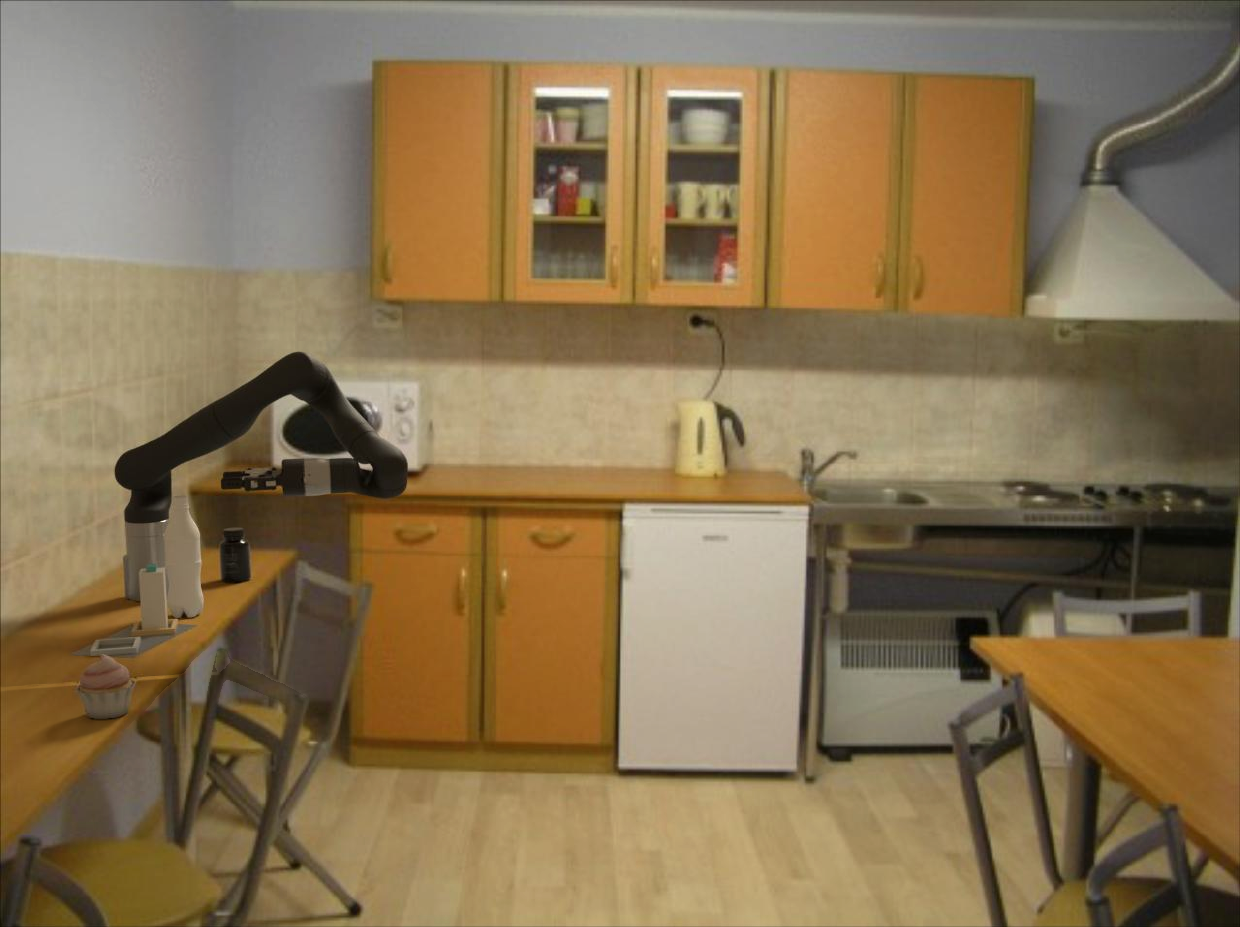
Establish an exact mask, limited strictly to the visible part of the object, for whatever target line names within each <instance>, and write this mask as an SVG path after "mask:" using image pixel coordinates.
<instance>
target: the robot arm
mask: <svg viewBox="0 0 1240 927" xmlns="http://www.w3.org/2000/svg"><path fill="white" fill-rule="evenodd" d="M289 395H291V396H292V397H294V398H296V399H297V400H300V401H303V402H305V403H306V404H308V405H309V406H310V407H312V408H313V409H314V410H315V411H316V412H318V413H319V414H320V415H321V416H322V417H323V418H324V419H325V420H326V422H327V423H328V424H329V426H330V429H331V430H332V432H333V435H334V436H335V438H336V439H337V441H338V442H339V444H341V446H342V447H343V448H344V449H345V451H346V452H348V454H349V455H350V457H339V458H338V457H337V458H323V457H307V458H304V457H303V458H283V459H282V460H281V468H280V469H281V470H277V467H275V466H273V467H263V468H262V467H255V468H251V467H248V468H246V469H245V468H244V469H243V470H238V471H237V470H236V471H234V470H233V471H232V470H231V471H224V472H223V474H222V478H221V479H220V488H221V489H222V490H240V489H241V490H242V491H245V492H257V491H276V490H277V487H281V488H282V495H283V497H285V498H290V497H314V496H323V495H329V494H347V493H348V494H349V493H352V494H357V495H361V496H365V497H370V498H371V497H372V498H376V499H385V500H386V499H387V500H388V499H393V498H397V497H399V496H400V495H402V494H403V493H404V492H405V490H406V489H407V486H408V470H409V464H408V460H407V458H406V455H405V454H404V453H403V451H402V450H401V449H399V448H398V447H397V446H396V445H395V444H393V443H391V442H390V441H388V440H386V439H385V438H383V437H381V436H380V435H379V433H378V432H377V431H376V430H375V429H374V428H373V427H372V426H371V424H369V422H368V421H367V420H366V418H364V417H363V416H362V415H361V414H360V412H358V410H357V409H356V408H355V407H354V406H353V404H351V402H350V401H349V400H348V399H347V397H346V396H345V394H344V393H343V391H342V390H341V388H340V386H339V385H338V383H337V381H336V379H335V377H334V375H332V372H331V371H330V370H329V368H328V366H326V364H325V363H323V362H322V361H320V360H318V359H317V358H315V357H314V356H313V355H311V354H310V353H307V352H304V351H294V352H291V353H289V354H286V355H285V356H282V358H279V360H277V361H276V362H274V363H273V364H272V365H271V366H269V367H268V368H266V369H264V370H263V371H262V372H261V373H259V374H258V375H257V376H255V377H254V378H253V379H251V380H249V381H248V382H246V383H244V384H242V385H241V386H239V387H238V388H236V389H234V390H233V391H231V392H230V393H227V394H225V395H224V396H222V397H220V398H218V399H216V400H215V401H213V402H212V403H209V404H208V405H206V406H205V407H202V408H200V409H199V410H198V411H196V412H195V413H193V414H191V415H190V416H189V417H187V418H185V419H184V420H183V421H181V422H180V423H178V424H177V425H176V426H174V427H172V428H171V429H170V430H168V431H167V432H165V433H164V434H162V435H160V436H159V437H156V438H154V439H153V440H150V441H148V442H145V443H143V444H142V445H141V444H140V445H139V446H136V447H134V448H132V449H129V450H127V451H125V452H124V453H122V454H121V455H120V457H119V458H118V459H117V461H116V463H115V466H114V470H113V472H114V478H115V480H116V482H117V483H118V485H120V486H121V487H122V488H124V489H126V490H128V491H130V493H131V494H130V497H129V498H130V499H129V500H128V501H129V502H128V503H127V505H125V508H124V511H123V516H124V517H123V518H124V529H125V530H124V531H125V547H126V548H125V549H126V550H125V551H126V554H125V555H123V556H122V563H123V564H122V566H123V570H122V571H123V582H124V584H123V586H124V598H125V600H131V601H135V602H141V601H140V584H139V572H140V570H141V569H146V567H147V564H157V568H164V567H165V562H166V557H165V540H164V533H165V530H166V528H167V525H168V523H169V521H170V510H171V507H172V502H173V501H172V500H173V496H172V495H173V493H172V492H173V491H172V487H173V486H172V485H173V484H172V471H173V470H174V469H175V468H177V467H179V466H181V465H183V464H186V463H187V462H190V461H193V460H195V459H199V458H201V457H203V456H206V455H208V454H211V453H213V452H215V451H217V450H219V449H221V448H223V447H225V446H227V445H229V444H231V443H232V442H234V441H236V440H238V439H240V438H241V437H243V436H244V435H245V434H247V433H248V432H249V431H250V430H251V428H252V427H253V425H254V424H255V422H256V421H257V419H258V418H259V416H260V414H261V413H262V412H263V411H264V410H265V409H266V408H268V406H270V405H271V404H273V403H275V402H276V401H278V400H280V399H283V398H285V397H287V396H289ZM360 464H361V465H370V466H371V468H372V470H369V469H366V468H361V466H360ZM165 579H166V597H168V590H169V581H168V574H167V570H166V567H165Z"/></svg>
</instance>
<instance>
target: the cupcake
mask: <svg viewBox="0 0 1240 927" xmlns="http://www.w3.org/2000/svg"><path fill="white" fill-rule="evenodd" d="M99 657H100V658H99V661H96V662H94V663H92V664H90V665H88V667H86V668H85V670H84V672H83V673H82V674H81V675H80V676H79V679H78V681H79V684H77V685H76V686H77V688H75V689H74V691H75V693H76V694H77V695H78V696H79V698H80V700H81V701H82V704H83V707H84V708H83V709H84V711H85V714H86V715H87V717H88V718H89V717H90V718H89V719H92V718H94V719H93V720H109V719H108V718H112V719H117V718H119V717H122V716H124V715H127V714H128V713H129V710H130V705H131V699H132V694H133V691H134V688H135V686H136V684H137V680H132V678H131V677H130V672H129V671H130V670H128V668H127V667H126V666H125V665H123V664H122V663H119V662H117V661H116V659H114V657H109V656H107V655H104V654H101V656H99Z"/></svg>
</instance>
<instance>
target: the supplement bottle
mask: <svg viewBox="0 0 1240 927" xmlns="http://www.w3.org/2000/svg"><path fill="white" fill-rule="evenodd" d="M245 536H246V534H245V528H243V527H228V528H223V529H222V538H223V540H222V541H221V542H220V543H219V545H218V548H219V552H218V553H219V568H220V579H221V580H220V581H222V582H223V581H225V582H224V583H229V582H235V583H243V582H242V581H244V582H247V581H249V579H250V580H251V579H252V564H251V546H250V545H251V544H250V542H249V541H248V540H247V539H245Z"/></svg>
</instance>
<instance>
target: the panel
mask: <svg viewBox="0 0 1240 927" xmlns="http://www.w3.org/2000/svg"><path fill="white" fill-rule="evenodd" d="M197 626H198V624H186V623H185V624H184V623H183V624H180V623H179V618H170V619H169V618H168V628H163V629H148V630H142V620H138V621H137V620H136V621H135V622H134V624H133V625H130V626H128V627H126V628H124V629H122V630H121V629H120V630H118V632H115V633H112V634H111V635H109V636H106V637H104V638H102V639H95V641H94V642H93V643H91V644H89V645H87V646H85V647H83V648H80V649H79V650H76V651H74V652H72V653H70V654H69V655H70V656H84V657H85V656H86V657H87V656H89V657H100V656H101V654H104V655H107V656H109V657H111V658H123V659H124V658H128V659H135V658H137V657H138V656H140V655H143V654H144V653H146V652H148V651H150V650H152V649H153V648H156V647H158V646H160V645H162V644H164V643H165V642H168V641H169V640H172V639H173V638H175V637H177V636H180V635H182V634H184V633H186V632H187V631H189V630H192V629H194V628H196V627H197Z"/></svg>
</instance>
